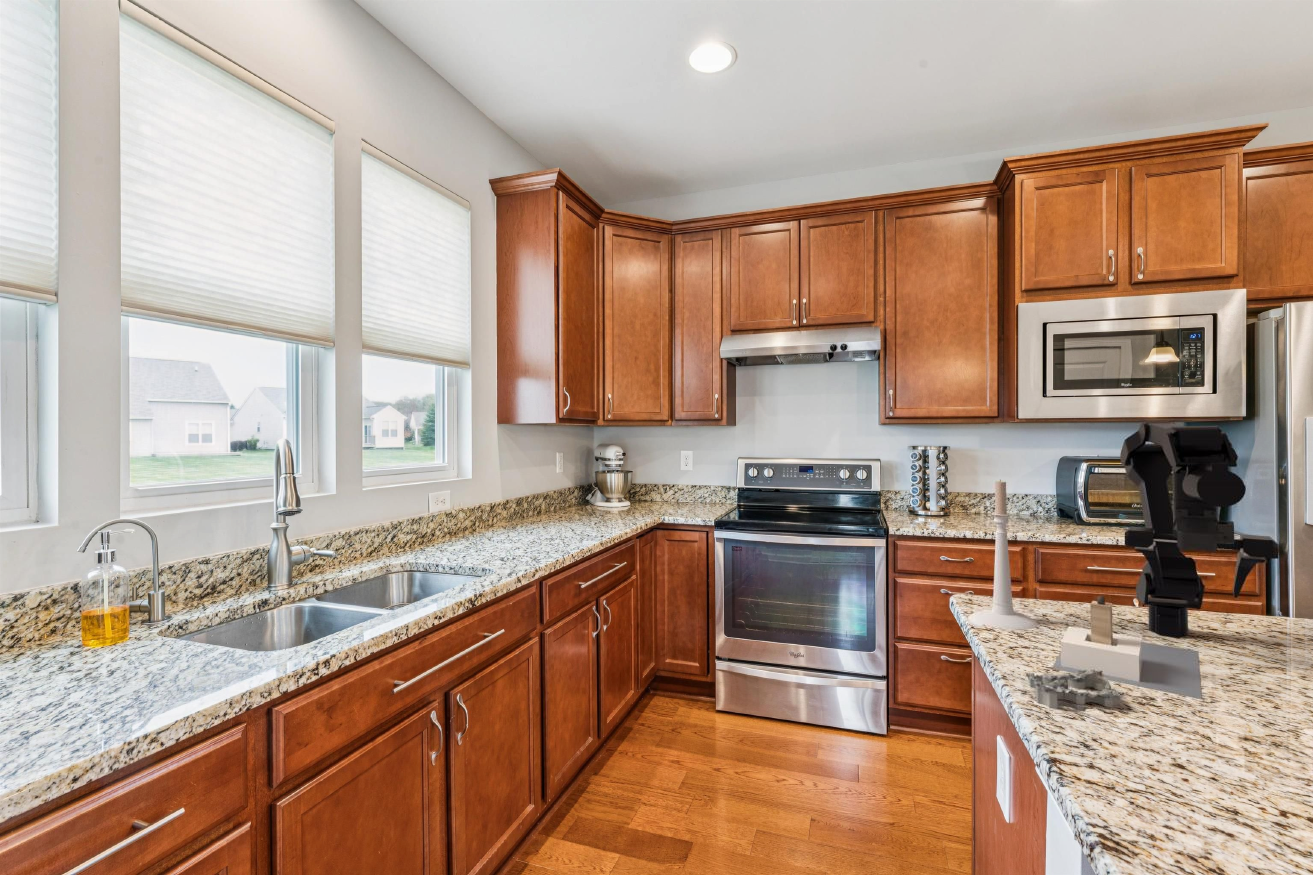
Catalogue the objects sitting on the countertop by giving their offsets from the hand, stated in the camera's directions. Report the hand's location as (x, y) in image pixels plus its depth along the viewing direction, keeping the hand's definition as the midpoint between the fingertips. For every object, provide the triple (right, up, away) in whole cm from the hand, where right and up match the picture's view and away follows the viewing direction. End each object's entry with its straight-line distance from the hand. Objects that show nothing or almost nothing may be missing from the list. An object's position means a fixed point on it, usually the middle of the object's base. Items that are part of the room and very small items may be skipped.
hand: (1197, 592), depth 99 cm
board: (-12, -12, 0) cm, 17 cm away
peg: (-17, -11, -2) cm, 21 cm away
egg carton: (-30, -13, -13) cm, 35 cm away
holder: (-17, -11, -2) cm, 21 cm away
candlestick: (-20, -13, +22) cm, 32 cm away
